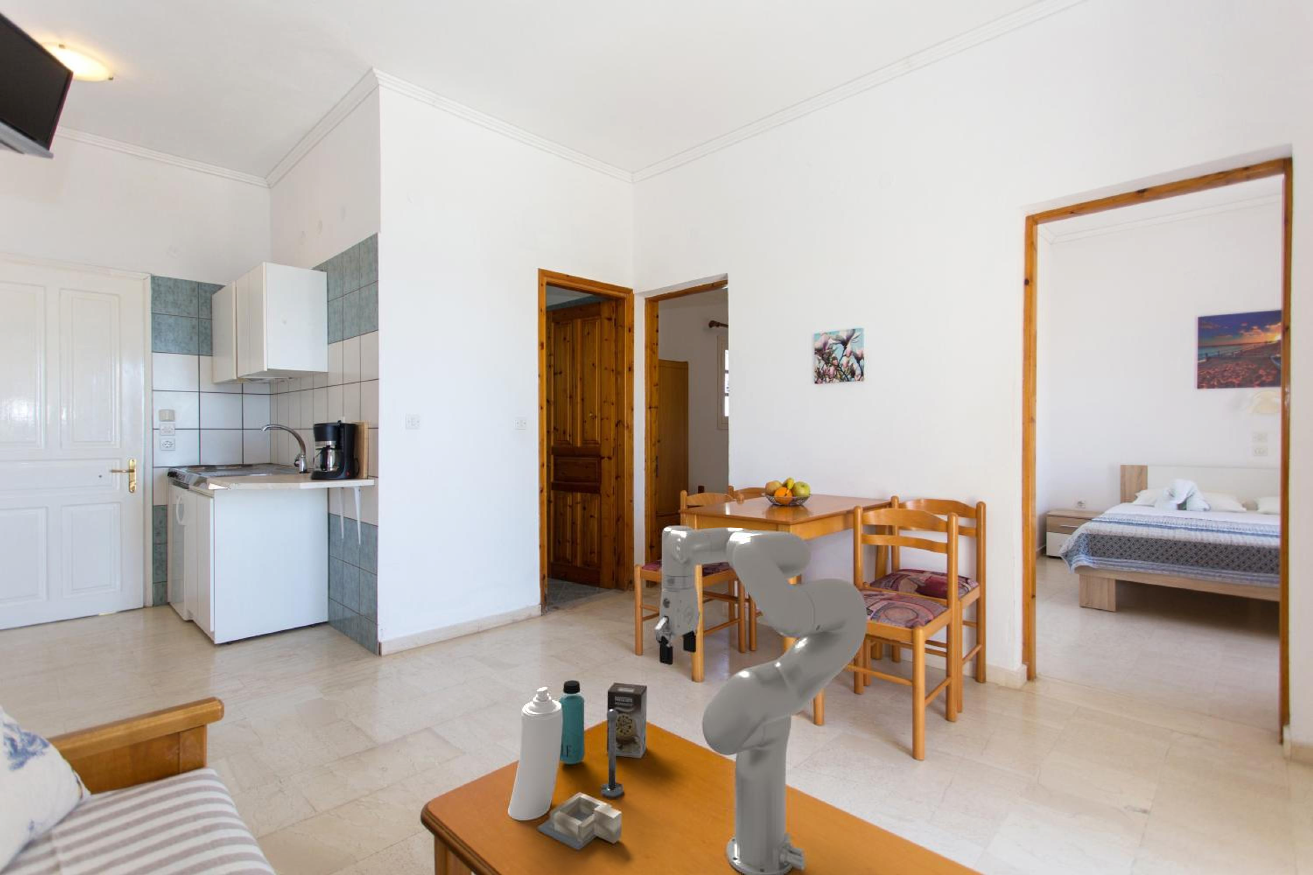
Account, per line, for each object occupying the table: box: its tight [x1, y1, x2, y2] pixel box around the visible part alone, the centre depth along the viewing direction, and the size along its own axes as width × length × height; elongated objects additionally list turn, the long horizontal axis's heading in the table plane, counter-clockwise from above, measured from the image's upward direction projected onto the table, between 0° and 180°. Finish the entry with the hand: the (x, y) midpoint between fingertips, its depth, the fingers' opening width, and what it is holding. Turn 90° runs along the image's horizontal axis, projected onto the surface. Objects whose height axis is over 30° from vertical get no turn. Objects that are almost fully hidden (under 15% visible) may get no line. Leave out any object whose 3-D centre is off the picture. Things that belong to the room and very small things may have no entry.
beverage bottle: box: [558, 680, 586, 765], centre depth 155 cm, size 6×7×20 cm
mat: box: [537, 811, 597, 851], centre depth 131 cm, size 11×12×1 cm
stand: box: [600, 709, 624, 799], centre depth 143 cm, size 5×5×19 cm
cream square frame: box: [549, 791, 622, 844], centre depth 129 cm, size 14×9×5 cm, turn 55°
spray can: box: [507, 687, 563, 821], centre depth 138 cm, size 12×11×25 cm
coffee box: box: [606, 681, 648, 759], centre depth 162 cm, size 9×6×16 cm
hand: (678, 657), depth 143 cm, fingers open, 9 cm apart
